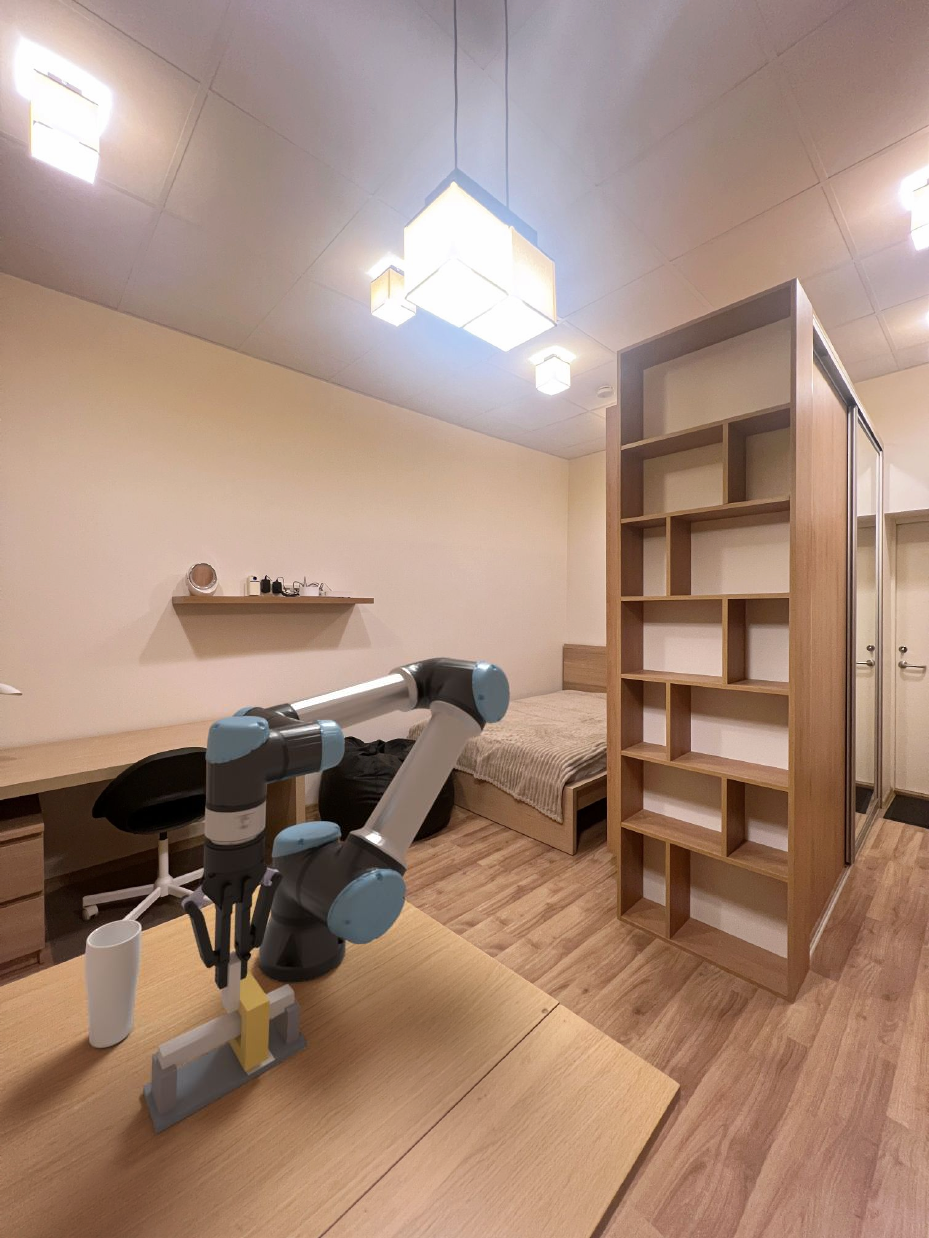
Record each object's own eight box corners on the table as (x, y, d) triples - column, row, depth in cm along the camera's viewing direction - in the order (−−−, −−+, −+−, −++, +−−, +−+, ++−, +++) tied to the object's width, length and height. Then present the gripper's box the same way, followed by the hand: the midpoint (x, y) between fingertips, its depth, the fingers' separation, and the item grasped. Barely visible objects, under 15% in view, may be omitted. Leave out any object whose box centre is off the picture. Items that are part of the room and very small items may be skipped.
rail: (143, 1092, 66) (145, 1036, 66) (285, 1017, 79) (287, 970, 79) (156, 1134, 61) (158, 1073, 61) (306, 1046, 74) (308, 997, 74)
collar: (224, 1033, 73) (226, 977, 73) (245, 1022, 75) (247, 968, 75) (245, 1071, 68) (247, 1011, 67) (267, 1058, 70) (269, 1000, 70)
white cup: (149, 1027, 76) (152, 927, 76) (100, 1062, 70) (104, 953, 70) (120, 1010, 79) (123, 914, 79) (71, 1043, 73) (74, 938, 73)
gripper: (190, 858, 62) (185, 1049, 63) (293, 830, 71) (288, 997, 72) (174, 836, 68) (169, 1012, 68) (271, 812, 77) (267, 968, 77)
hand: (230, 1005), depth 70 cm, fingers closed
